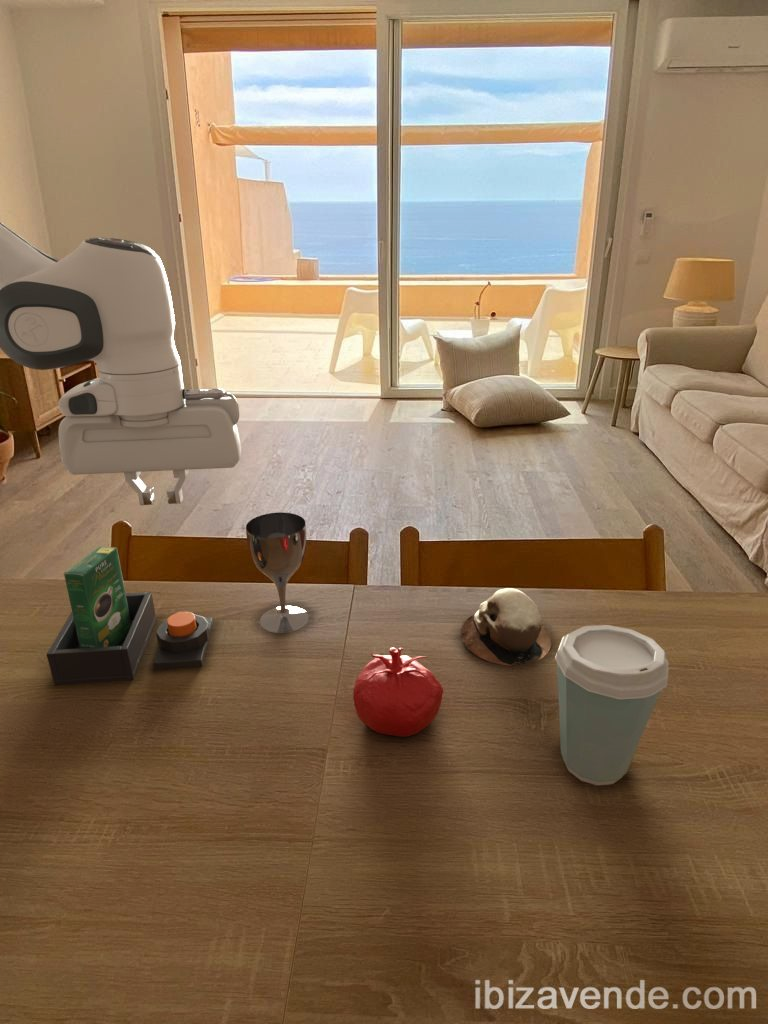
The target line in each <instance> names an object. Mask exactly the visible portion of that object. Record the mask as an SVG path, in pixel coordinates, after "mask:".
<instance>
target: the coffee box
mask: <svg viewBox="0 0 768 1024" xmlns="http://www.w3.org/2000/svg"><path fill="white" fill-rule="evenodd" d="M63 577H64V581H65V586H66V590H67V595H68V599H69V603H70V608H71V612H72V613H73V618H74V622H75V627H76V631H77V636H78V641H79V645H80V649H81V648H97V647H113V646H118V645H119V644H120V643H121V642H122V641H123V640H124V639H125V638H126V636H127V634H128V632H129V630H130V627H131V620H130V615H129V610H128V604H127V599H126V594H125V593H126V588H125V583H124V578H123V573H122V567H121V562H120V557H119V552H118V547H116V546H115V547H114V546H103V545H102V546H101V545H100V546H98V547H97V548H95V549H94V550H93V551H92V552H90V553H88V555H86V556H84V558H82V559H81V560H79V561H78V562H77V563H75V564H74V565H73V566H72V567H70V568H68V570H66V571H65V572H63Z"/></svg>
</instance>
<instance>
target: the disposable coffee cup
mask: <svg viewBox="0 0 768 1024" xmlns="http://www.w3.org/2000/svg"><path fill="white" fill-rule="evenodd" d="M556 651H557V652H556V654H555V657H554V660H555V661H556V666H557V667H556V669H557V692H558V693H557V696H558V715H559V741H560V743H559V744H560V755H561V757H562V760H563V762H564V764H565V767H566V769H567V771H568V772H569V773H570V774H571V775H572V776H574V777H575V778H577V779H578V780H579V781H581V782H584V783H588V784H590V785H594V786H608V785H613V784H615V783H616V782H618V781H619V780H621V779H622V778H623V777H624V776H625V775H626V774H627V773H628V771H629V768H630V765H631V764H632V761H633V759H634V756H635V754H636V751H637V749H638V746H639V744H640V742H641V740H642V737H643V735H644V732H645V729H646V727H647V725H648V723H649V720H650V718H651V716H652V713H653V710H654V708H655V706H656V704H657V701H658V698H659V696H660V694H661V692H662V690H664V689H665V688H667V687H668V683H669V681H668V679H669V673H670V672H669V671H670V670H669V663H670V662H669V661H668V659H667V658H666V651H665V650H664V649H663V648H662V647H661V646H660V645H659V644H658V643H657V642H656V641H655V639H653V638H652V637H649V636H647V635H645V634H643V633H640V632H638V631H636V630H634V629H632V628H627V627H621V626H615V625H610V624H599V625H598V624H597V625H596V624H595V625H584V626H582V627H579V628H577V629H575V630H573V631H571V632H569V633H567V634H566V635H563V636H562V637H561V640H560V643H559V646H558V649H557V650H556Z"/></svg>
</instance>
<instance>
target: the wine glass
mask: <svg viewBox="0 0 768 1024" xmlns="http://www.w3.org/2000/svg"><path fill="white" fill-rule="evenodd" d="M245 533H246V542H247V547H248V551H249V554H250V557H251V559H252V562H253V564H254V566H255V567H256V568H257V570H258V571H260V573H262V574H263V575H264V576H266V577H267V578H268V579H270V580H271V581H272V582H273V583H274V585H275V587H276V590H277V593H278V598H279V606H277V607H274V608H271V609H269V610H268V611H266V612H265V613H263V614H262V615H261V616H260V619H259V624H260V626H261V628H262V629H264V630H265V631H267V632H270V633H275V634H286V633H291V632H294V631H297V630H299V629H301V628H303V627H304V626H305V625H306V624H307V623H308V621H309V614H308V612H307V611H306V610H305V609H303V608H300V607H298V606H292V605H287V604H286V603H287V601H286V597H287V596H286V595H287V594H286V593H287V584H288V582H289V580H290V579H291V578H292V576H293V575H295V573H296V572H297V571H298V569H299V568H300V567H301V566H302V564H303V562H304V559H305V555H306V550H307V542H308V541H307V523H306V520H305V518H303V517H302V516H301V515H299V514H296V513H291V512H281V511H280V512H270V513H265V514H261V515H258V516H256V517H254V518H252V519H250V520H249V521H248V522H247V523H246V526H245Z"/></svg>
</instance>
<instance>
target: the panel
mask: <svg viewBox="0 0 768 1024" xmlns="http://www.w3.org/2000/svg"><path fill="white" fill-rule="evenodd" d="M194 616H195V620H196V626H197V628H196V631H195V632H193V633H192V634H189V635H186V636H181V637H174V636H171V635H170V634H169V631H168V625H167V619H165V620H164V621H163V622H162V623H161V624H159V625H158V627H157V630H156V633H155V634H156V639H157V645H158V646H159V647H158V649H157V652H156V655H155V658H154V660H153V669H154V671H162V670H163V671H164V670H178V669H179V670H180V669H193V668H203V666H204V662H205V657H206V654H207V650H208V646H209V642H210V637H211V634H212V630H213V626H214V623H213V622H214V621H213V617H212V616H211V617H204V616H202V615H198V614H194Z"/></svg>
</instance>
